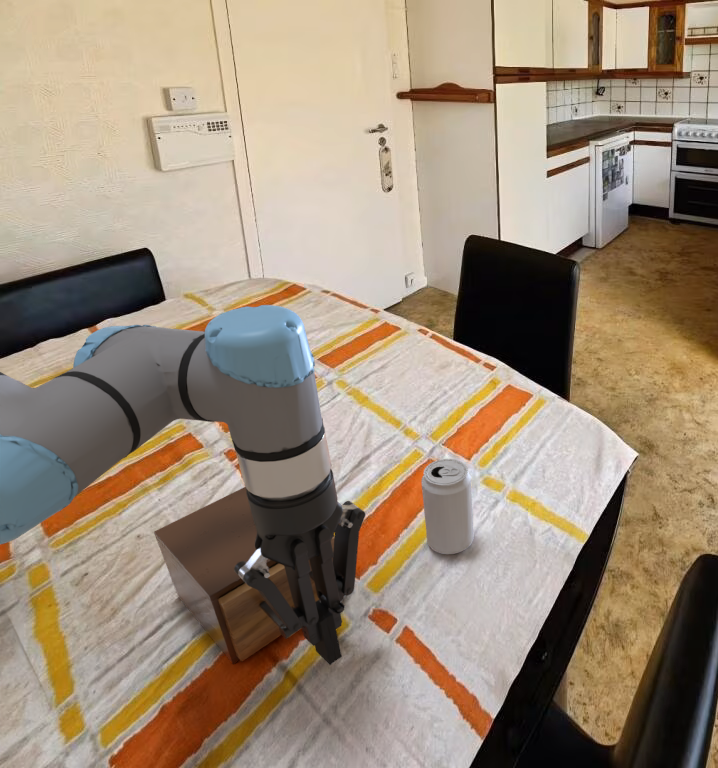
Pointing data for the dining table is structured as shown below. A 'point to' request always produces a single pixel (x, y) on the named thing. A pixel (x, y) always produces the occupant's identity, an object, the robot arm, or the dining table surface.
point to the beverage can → (448, 506)
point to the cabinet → (210, 559)
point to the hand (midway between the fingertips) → (328, 653)
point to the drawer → (257, 613)
